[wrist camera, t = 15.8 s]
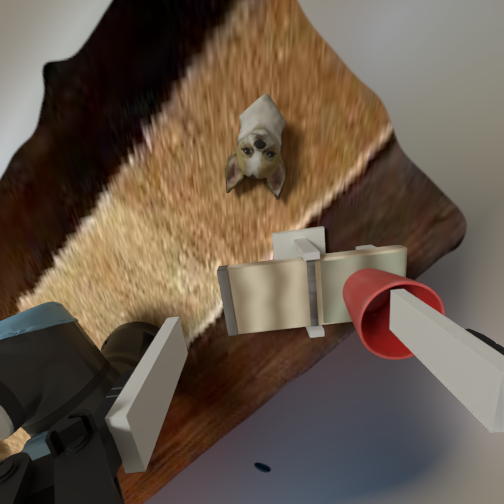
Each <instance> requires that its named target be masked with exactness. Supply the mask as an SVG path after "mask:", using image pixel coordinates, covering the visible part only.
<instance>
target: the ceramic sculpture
mask: <svg viewBox="0 0 504 504" xmlns="http://www.w3.org/2000/svg"><path fill="white" fill-rule="evenodd" d="M239 120H240V124H241V130H240V133H239V136H238V146H237V149H236V151H235V152H234V153H232V154H231V156H230V157H229V158H228V160H227V165H226V167H225V173H226V174H225V176H226V193H229V192H230V191H231V190H232V189H233V188H235V187H236V186H238V185H239V184H241V182H242V181H243V178H244V175H246V176H248V177H250V178H255V179H263V178H266V185H267V187H268V188H269V190H270V191H271V192H272V193H273V194H274V196H275V198H276V199H277V200H279V197H280V193H281V191H282V188H283V185H284V181H285V179H286V166H285V164H284V161H283V160H282V159H281V157H280V150H281V146H282V141H281V134H282V131H283V129H284V127H285V125H286V121H285V120H284V119H283V117H282V115H281V113H280V112H279V110H278V109H277V107H276V105H275V103H274V102H273V101H272V99H271V98H270V96H269V95H268V94H263V95H262V96H261V97H260V98H258V99H257V100H256V101H255V102H254V103H253V104H252V105H251V106H250V107H248V108H247V109H246V110H245V111H244V112H243V113H242V114H241V115H240V117H239Z"/></svg>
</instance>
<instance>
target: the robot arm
mask: <svg viewBox="0 0 504 504" xmlns="http://www.w3.org/2000/svg"><path fill="white" fill-rule="evenodd" d="M77 321H78V320H77V319H76V318H74V317H73V316H72V315H71V314H70V313H69V312H68V310H67V309H66V308H65V307H64V306H63V305H62V304H60V303H58V302H47V303H44V304H41V305H38V306H36V307H33V308H31V309H28V310H26V311H24V312H21V313H19V314H16V315H14V316H12V317H9V318H7V319H5V320H2V321H0V440H3V439H7V438H8V437H10V436H11V435H12V434H13V433H14V432H16V431H17V430H18V429H19V428H20V427H22V428H23V429H24V430H25V431H26V432H27V433H28V434H29V435H30V436H31V439H29V440H28V441H27V442H26V444H25V445H24V448H23V450H22V451H21V452H20V453H17V454H14V455H11V456H9V457H8V458H6V459H4V460H2V461H1V462H0V504H125V503H124V499H123V496H122V492H121V488H120V484H119V481H118V478H117V475H116V474H117V472H118V470H119V468H120V465H121V463H122V464H123V467H124V469H125V472H126V473H133V472H142V471H146V468H147V465H148V463H149V460H150V457H151V454H152V452H153V449H154V446H155V443H156V441H157V438H158V435H159V432H160V430H161V427H162V424H163V421H164V419H165V416H166V413H167V410H168V408H169V405H170V402H171V399H172V397H173V394H174V391H175V388H176V386H177V383H178V380H179V377H180V374H181V372H182V369H183V366H184V363H185V361H186V358H187V355H188V351H187V347H186V343H185V339H184V334H183V330H182V326H181V322H180V318H179V316H178V317H170V318H167V319H166V320H165V322H164V324H163V325H162V327H161V329H159V328H157V327H155V326H153V325H151V324H148V323H143V322H131V323H126V324H123V325H121V326H119V327H118V328H116V329H115V330H114V331H113V332H112V333H111V334H110V335H109V336H108V337H107V339H106V340H105V342H104V343H103V346H102V348H101V351H100V350H99V349H98V348H97V346H96V345H95V344H94V342H93V341H92V340H91V339H90V337H89V336H88V335H87V333H86V332H85V331H84V329H83V328H82V327H81V326H80V324H79V323H78V322H77ZM390 330H391V331H392V332H393V333H394V334H395V335H396V336H397V337H398V338H399V340H400V341H401V342H402V343H403V344H404V345H405V346H406V347H407V348H408V349H409V350H410V351H411V352H412V353H413V354H414V355H415V356H416V357H417V358H418V359H419V360H420V361H421V362H422V363H423V364H424V365H425V366H426V367H427V368H428V369H429V370H430V371H431V372H432V373H433V374H434V375H435V376H436V377H437V378H438V379H439V380H440V381H441V382H442V383H443V384H444V385H445V386H446V387H447V388H448V389H449V391H450V392H451V393H452V394H453V395H455V397H456V398H457V399H458V400H459V401H460V402H461V403H462V404H463V405H464V406H465V407H466V408H467V409H468V410H469V411H470V412H471V413H472V414H473V415H474V416H475V417H476V418H477V419H478V420H479V421H480V422H481V423H482V424H483V425H484V426H485V427H486V428H487V429H488V430H489V431H490V432H491V433H499V432H504V347H502V346H501V345H499V344H496V343H495V342H494V341H493V340H491V339H490V338H488V337H486V336H485V335H483V334H481V333H478V332H476V331H473V330H471V329H463V328H462V327H460V326H459V325H457V324H456V323H454V322H453V321H451V320H450V319H448V318H447V317H445V316H444V315H442V314H441V313H439V312H438V311H436V310H435V309H433V308H432V307H430V306H429V305H427V304H426V303H424V302H423V301H421V300H420V299H418V298H417V297H415V296H414V295H412V294H411V293H409V292H408V291H406V290H405V289H396V290H391V297H390Z"/></svg>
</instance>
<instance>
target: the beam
mask: <svg viewBox="0 0 504 504" xmlns="http://www.w3.org/2000/svg"><path fill="white" fill-rule="evenodd" d="M406 260H407V248H406V247H404V246H401V245H393V246H385V247H377V248H369V249H361V250H352V251H344V252H336V253H328V254H320V259H315V260H307V261H304V260H303V258H302V257H295V258H286V259H278V260H270V261H262V262H254V263H245V264H237V265H229V266H228V265H226V266H219V268H218V270H217V274H218V280H219V285H220V291H221V296H222V302H223V307H224V313H225V318H226V324H227V329H228V335H229V336H230V335H238V334H242V333H251V332H260V331H270V330H279V329H288V328H297V327H306V326H318V325H325V324H334V323H343V322H352V320H351V317H350V315H349V313H348V310H347V308H346V305H345V302H344V299H343V294H342V291H343V287H344V284H345V282H346V280H347V279H348V278H349V277H350V275H352V274H353V273H355V272H356V271H358V270H361V269H365V268H374V269H378V270H382V271H386V272H390V273H393V274H396V275H399V276H402V277H405V278H406Z"/></svg>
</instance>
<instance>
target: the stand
mask: <svg viewBox="0 0 504 504" xmlns="http://www.w3.org/2000/svg"><path fill="white" fill-rule="evenodd" d="M271 234H272V243H273V252H274V260H278V259H286V258H295V257H302V258H303V260H304V261H307V260H315V259H320V254H325V234H324V227H323V226H321V227H314V228H306V229H298V230H291V231H283V232H275V233H271ZM369 248H377V247H375V246H373V245H365V246H357V247H356V250H361V249H369ZM306 329H307V331H308V334H309V336H310V338H313V337H321V336H324V329H323V327H322V325H318V326H306Z"/></svg>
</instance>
